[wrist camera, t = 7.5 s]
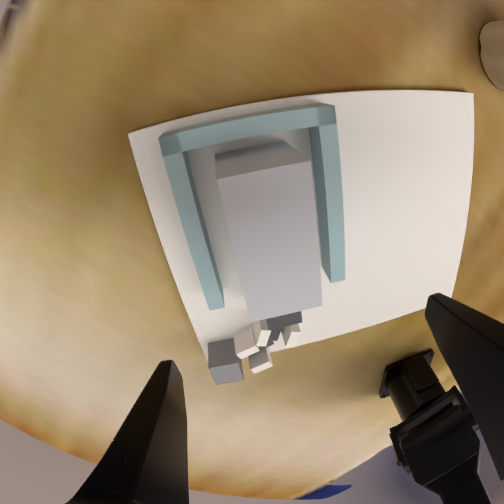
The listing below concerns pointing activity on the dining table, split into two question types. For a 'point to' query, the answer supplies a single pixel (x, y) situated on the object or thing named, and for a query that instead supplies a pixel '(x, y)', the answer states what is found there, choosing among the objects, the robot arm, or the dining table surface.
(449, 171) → the board
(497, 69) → the flower pot
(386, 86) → the dining table surface
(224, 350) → the grey blocky piece
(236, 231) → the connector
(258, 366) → the clips
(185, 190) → the holder
